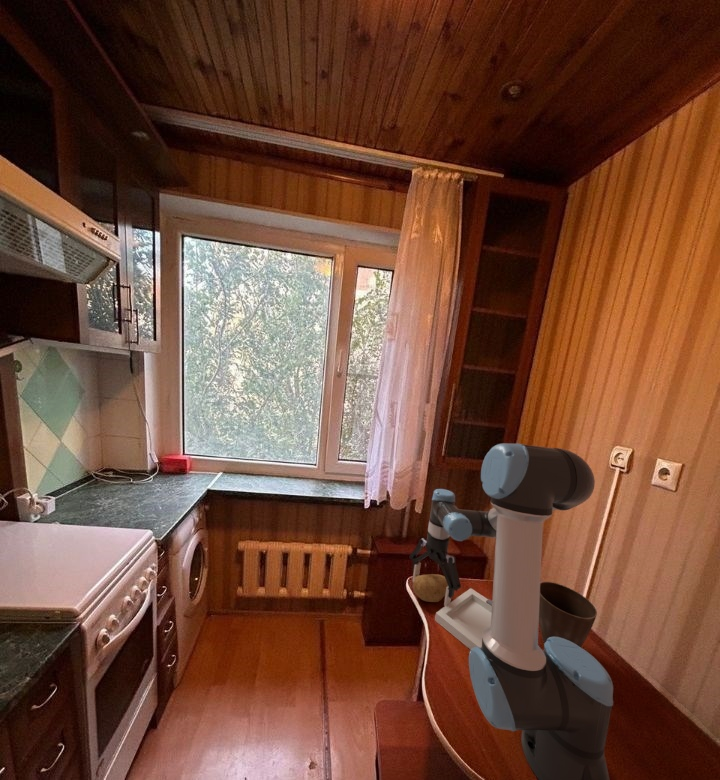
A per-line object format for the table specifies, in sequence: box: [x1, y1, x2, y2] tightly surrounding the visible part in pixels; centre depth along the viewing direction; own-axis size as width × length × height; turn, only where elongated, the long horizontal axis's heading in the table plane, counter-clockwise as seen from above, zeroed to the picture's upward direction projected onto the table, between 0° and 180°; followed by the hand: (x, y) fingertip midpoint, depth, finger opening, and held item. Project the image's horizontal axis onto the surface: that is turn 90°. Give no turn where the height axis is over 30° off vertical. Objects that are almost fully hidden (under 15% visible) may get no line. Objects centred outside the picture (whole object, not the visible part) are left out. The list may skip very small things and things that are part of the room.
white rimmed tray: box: [434, 587, 492, 651], centre depth 98 cm, size 22×18×3 cm
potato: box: [412, 573, 448, 603], centre depth 107 cm, size 10×14×8 cm
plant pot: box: [539, 581, 598, 648], centre depth 92 cm, size 15×15×16 cm
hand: (430, 592), depth 107 cm, fingers open, 13 cm apart
